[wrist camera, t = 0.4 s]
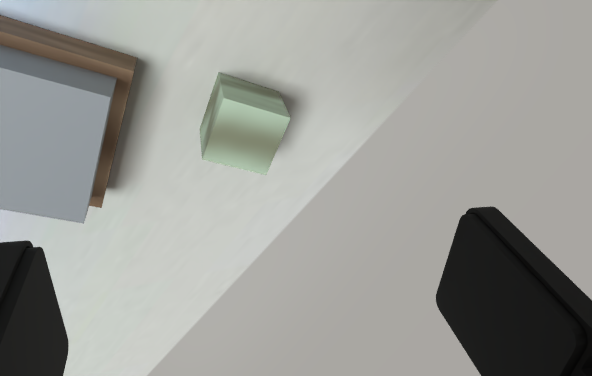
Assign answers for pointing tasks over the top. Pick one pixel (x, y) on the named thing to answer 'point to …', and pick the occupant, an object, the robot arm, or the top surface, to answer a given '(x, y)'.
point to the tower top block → (50, 134)
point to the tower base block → (87, 58)
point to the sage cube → (243, 125)
